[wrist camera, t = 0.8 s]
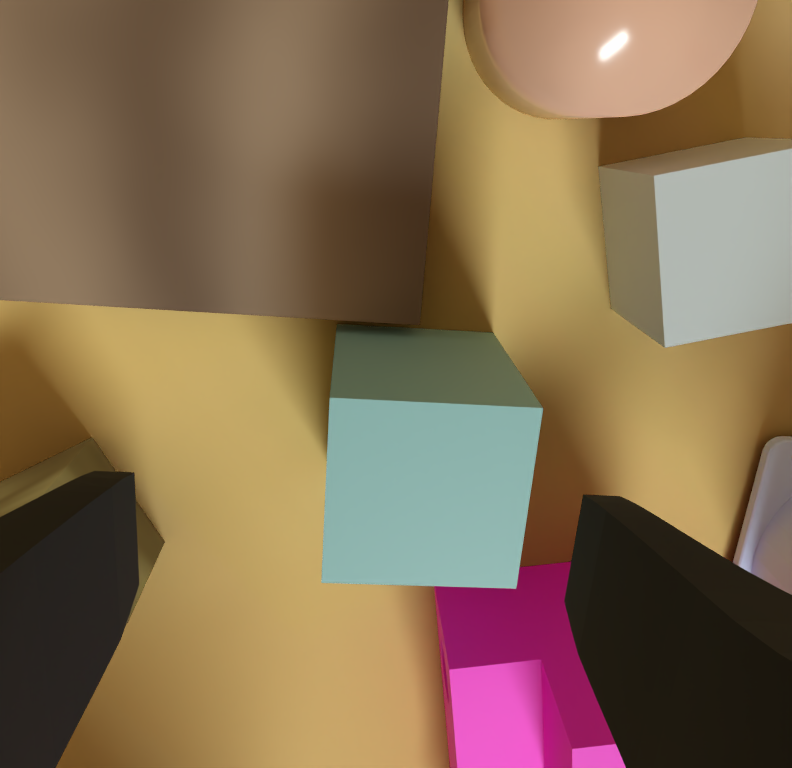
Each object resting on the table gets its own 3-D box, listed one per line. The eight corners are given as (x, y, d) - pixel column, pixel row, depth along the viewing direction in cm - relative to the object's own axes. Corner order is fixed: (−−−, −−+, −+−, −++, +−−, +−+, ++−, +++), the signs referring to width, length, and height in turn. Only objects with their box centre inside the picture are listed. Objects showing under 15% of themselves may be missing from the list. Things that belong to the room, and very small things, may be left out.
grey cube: (743, 137, 20) (835, 139, 16) (747, 281, 21) (832, 315, 17) (597, 166, 20) (653, 175, 16) (610, 307, 21) (664, 347, 17)
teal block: (492, 332, 21) (543, 408, 15) (476, 472, 22) (516, 588, 17) (336, 323, 21) (329, 397, 15) (330, 466, 22) (321, 582, 16)
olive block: (93, 436, 21) (37, 502, 18) (165, 540, 23) (127, 622, 19) (-21, 491, 22) (-100, 567, 18) (56, 591, 23) (-2, 681, 19)
